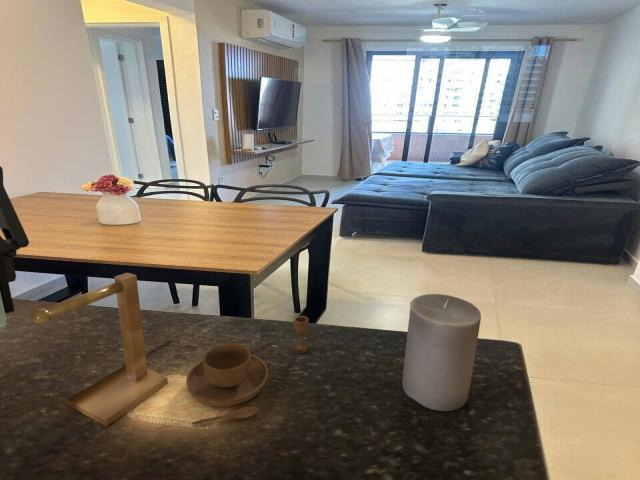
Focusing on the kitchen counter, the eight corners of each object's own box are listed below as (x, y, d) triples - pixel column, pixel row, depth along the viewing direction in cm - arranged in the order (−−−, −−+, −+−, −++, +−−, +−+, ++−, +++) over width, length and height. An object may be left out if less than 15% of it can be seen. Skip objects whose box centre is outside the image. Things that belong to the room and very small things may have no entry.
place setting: (191, 355, 64) (188, 324, 63) (306, 342, 69) (307, 313, 68) (182, 432, 48) (178, 393, 47) (333, 408, 53) (335, 372, 51)
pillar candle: (458, 372, 62) (471, 287, 58) (476, 415, 53) (493, 318, 48) (397, 367, 63) (406, 283, 58) (405, 409, 53) (416, 313, 49)
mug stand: (19, 413, 50) (-8, 294, 46) (115, 360, 62) (101, 261, 58) (75, 448, 45) (51, 318, 41) (168, 382, 57) (157, 276, 53)
